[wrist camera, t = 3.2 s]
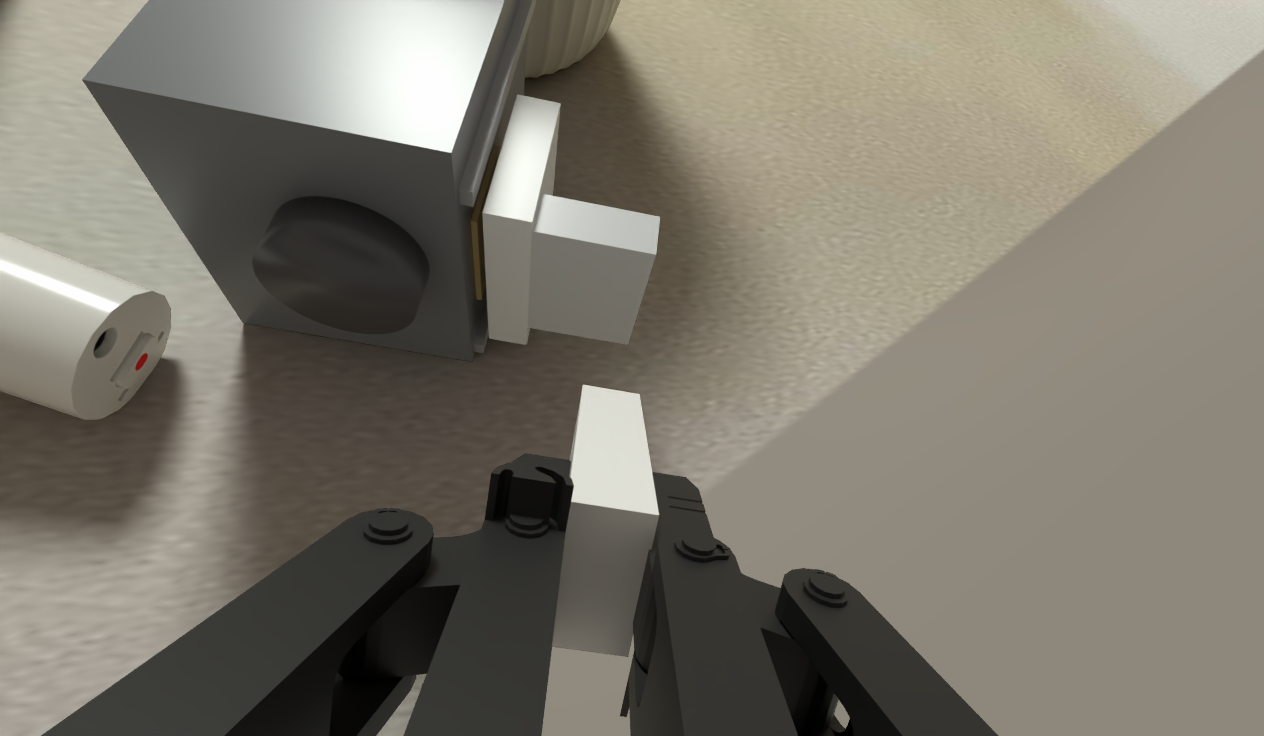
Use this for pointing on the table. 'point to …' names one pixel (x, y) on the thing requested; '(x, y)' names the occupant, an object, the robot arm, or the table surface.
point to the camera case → (327, 154)
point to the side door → (558, 244)
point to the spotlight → (74, 332)
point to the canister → (564, 33)
